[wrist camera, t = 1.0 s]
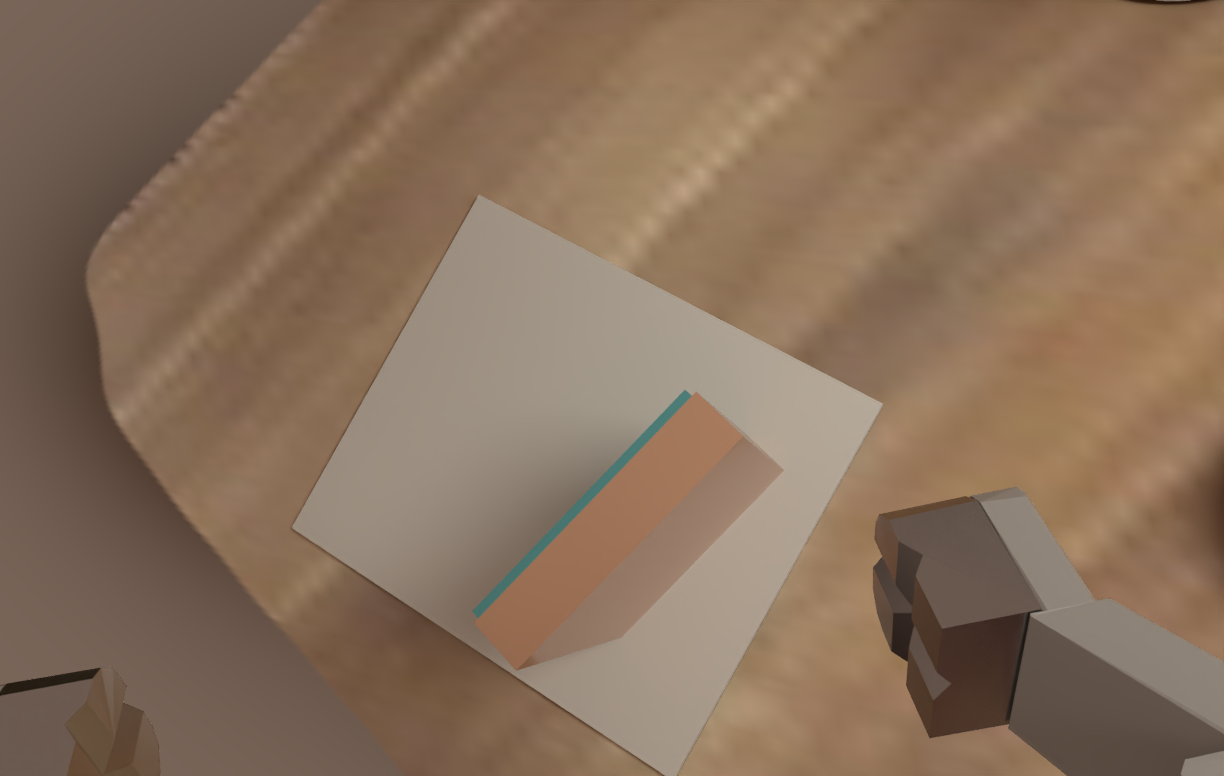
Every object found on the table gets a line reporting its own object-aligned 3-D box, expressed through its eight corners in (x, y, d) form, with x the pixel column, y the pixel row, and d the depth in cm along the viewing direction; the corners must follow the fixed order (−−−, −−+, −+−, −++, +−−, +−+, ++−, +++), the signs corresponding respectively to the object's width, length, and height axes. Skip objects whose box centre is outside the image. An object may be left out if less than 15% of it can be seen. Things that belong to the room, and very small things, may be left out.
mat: (481, 197, 52) (478, 194, 52) (883, 405, 46) (883, 404, 46) (295, 528, 52) (291, 527, 52) (675, 779, 46) (673, 781, 46)
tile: (585, 598, 48) (467, 615, 34) (745, 432, 47) (689, 385, 34) (621, 637, 47) (516, 670, 34) (784, 470, 47) (743, 436, 33)
